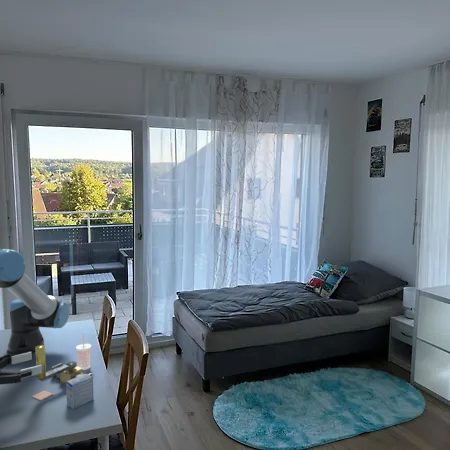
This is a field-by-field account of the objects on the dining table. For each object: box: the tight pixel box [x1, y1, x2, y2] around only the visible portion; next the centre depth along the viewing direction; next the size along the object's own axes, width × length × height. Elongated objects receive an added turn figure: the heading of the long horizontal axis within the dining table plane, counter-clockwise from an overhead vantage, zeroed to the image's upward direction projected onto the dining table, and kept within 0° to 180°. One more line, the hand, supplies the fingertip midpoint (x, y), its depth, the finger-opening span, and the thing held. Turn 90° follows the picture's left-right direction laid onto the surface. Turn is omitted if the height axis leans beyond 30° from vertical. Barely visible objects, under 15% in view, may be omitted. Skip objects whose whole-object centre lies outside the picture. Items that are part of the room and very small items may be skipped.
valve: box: [50, 362, 93, 386], centre depth 160 cm, size 18×6×6 cm, turn 58°
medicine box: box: [65, 373, 95, 410], centre depth 144 cm, size 8×4×9 cm, turn 141°
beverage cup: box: [75, 334, 92, 371], centre depth 172 cm, size 6×6×14 cm
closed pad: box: [31, 389, 54, 402], centre depth 149 cm, size 5×5×1 cm
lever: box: [34, 344, 78, 382], centre depth 154 cm, size 16×4×12 cm, turn 148°
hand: (36, 361), depth 147 cm, fingers open, 13 cm apart
